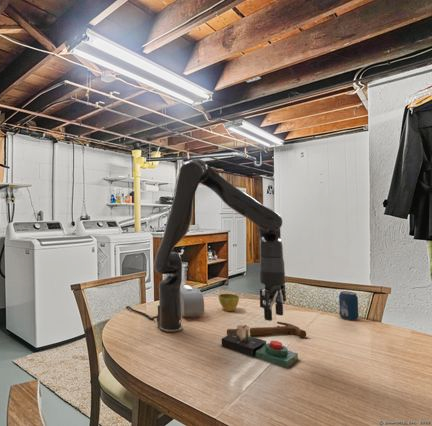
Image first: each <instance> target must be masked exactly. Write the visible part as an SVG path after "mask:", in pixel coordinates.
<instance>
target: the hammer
mask: <svg viewBox="0 0 432 426" xmlns="http://www.w3.org/2000/svg"><path fill="white" fill-rule="evenodd" d="M276 323H277V326H263V327H262V326H261V327H259V326H258V327H249V328H250V336H251V337H256V336H257V337H258V336H259V337H260V336H267V335H276V334H277V335H278V334H279V335H281V334H282V335H283V334H288V335H297V336H299V337H300V338H304V339H305V338H306V337H307V331H306V330H304V329H301V328H300V327H299V326H297V325H294V324H292V323H287V322H282V321H276ZM280 325H281V326H280ZM234 332H237V328H227V329H226V336H228V335H230V334H232V333H234Z"/></svg>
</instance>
